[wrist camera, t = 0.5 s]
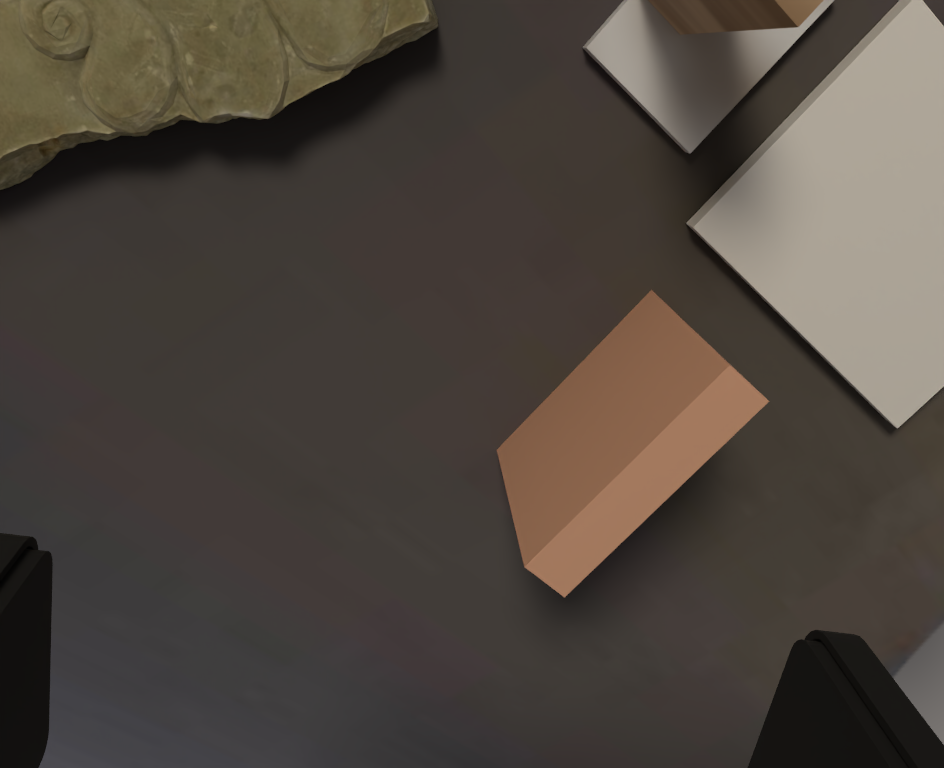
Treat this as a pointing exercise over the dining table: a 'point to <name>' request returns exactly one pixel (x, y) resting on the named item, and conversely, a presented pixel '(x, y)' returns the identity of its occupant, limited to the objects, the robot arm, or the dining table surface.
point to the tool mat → (854, 215)
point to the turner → (696, 55)
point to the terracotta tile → (618, 441)
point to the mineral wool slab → (174, 64)
